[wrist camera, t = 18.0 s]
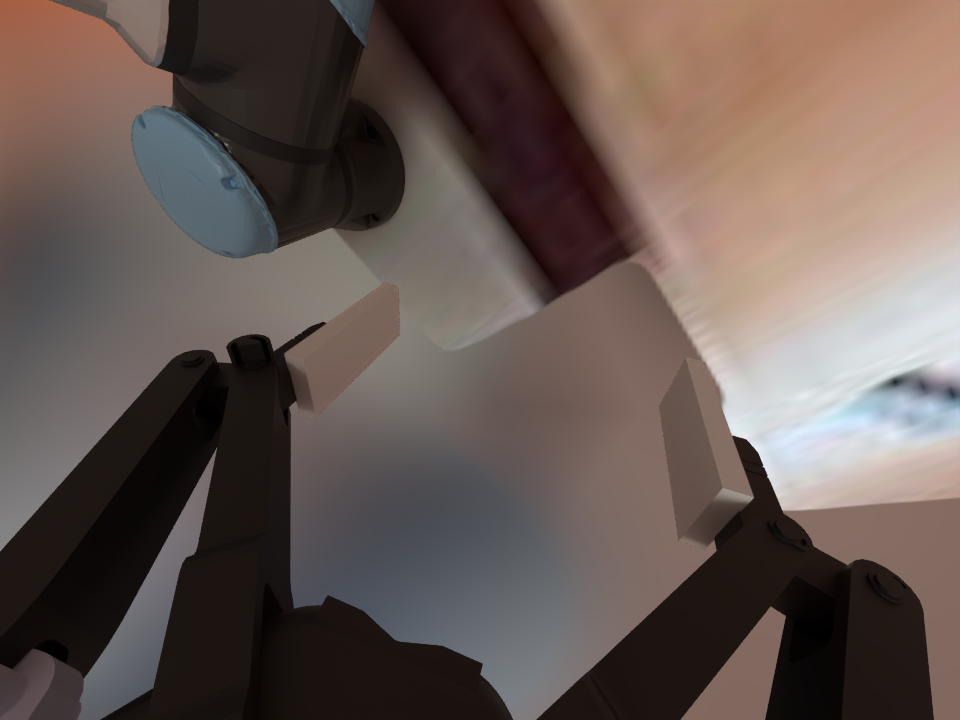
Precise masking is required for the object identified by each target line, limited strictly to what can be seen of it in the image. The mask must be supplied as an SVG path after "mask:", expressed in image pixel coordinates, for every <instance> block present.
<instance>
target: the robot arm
mask: <svg viewBox="0 0 960 720" xmlns="http://www.w3.org/2000/svg"><path fill="white" fill-rule="evenodd" d="M50 1H53V2H56V3H58V4H61V5H64V6H66V7H69V8H72V9H74V10H77V11H80V12H83V13H85V14H88V15H91V16H94V17H96V18H99V19H102V20H103V21H105V22H106V23H108V24H109V25H110V26H111V27H113V28H114V29H115V30H116V32H118V34H119V35H120V36H121V37H122V38H123V39H124V40H125V42H126V43H127V44H128V45H129V46H130V47H131V48H132V49H133V50H134V52H135V53H136V54H137V55H138V56H139V57H140V58H141V59H142V60H143V61H144V62H145V63H146V64H148V65H150V66H153V67H156V68H159V69H162V70H165V71H168V72H171V73H173V104H172V107H171V108H168V107H166V106H153V107H152V108H151V109H149V110H146V111H144V112H143V114H140V115H138V116H136V118H135V120H134V122H133V125H132V133H131V140H132V147H133V152H134V155H135V159H136V162H137V165H138V167H139V170H140V172H141V174H142V176H143V178H144V180H145V182H146V184H147V186H148V188H149V189H150V191H151V193H152V194H153V196H154V197H155V198H156V200H157V201H158V202H159V204H160V205H161V207H162V208H163V209H164V211H165V212H166V213H167V215H168V216H169V217H170V218H171V219H172V221H173V222H174V223H175V224H176V225H177V226H178V227H179V228H180V229H181V230H182V231H183V232H185V233H186V234H187V235H188V236H189V237H191V238H192V239H193V240H194V241H196V242H197V243H198V244H200V245H201V246H203V247H204V248H206V249H208V250H210V251H212V252H214V253H216V254H219V255H222V256H226V257H230V258H245V257H249V256H252V255H256V254H260V253H270V252H272V251H274V250H275V249H277V248H280V247H282V246H285V245H288V244H290V243H293V242H295V241H298V240H301V239H303V238H306V237H308V236H311V235H314V234H316V233H319V232H321V231H324V230H326V229H329V228H337V229H344V230H352V231H363V230H368V229H371V228H374V227H376V226H379V225H381V224H383V223H385V222H386V221H387V220H389V219H390V218H391V217H392V216H393V214H394V213H395V212H396V210H397V208H398V206H399V204H400V202H401V199H402V196H403V191H404V180H405V177H404V166H403V160H402V156H401V152H400V149H399V147H398V144H397V142H396V140H395V137H394V136H393V134H392V132H391V130H390V129H389V127H388V126H387V124H386V123H385V122H384V120H383V119H382V118H381V117H380V116H379V115H378V114H377V113H376V112H375V111H374V110H373V109H371V108H370V107H369V106H367V105H366V104H364V103H362V102H360V101H358V100H355V99H352V98H349V97H350V94H351V91H352V87H353V84H354V80H355V77H356V73H357V70H358V66H359V63H360V59H361V56H362V52H363V49H364V48H367V45H368V40H367V37H366V36H367V32H368V28H369V24H370V20H371V16H372V11H373V7H374V3H375V0H50ZM399 320H400V319H399V286H395V285H391V284H387V283H384V284H382V285H381V286H379V287H378V288H376V289H375V290H374V291H372V292H371V293H369V294H368V295H366V296H365V297H364V298H362V299H361V300H360V301H358V302H357V303H355V304H354V305H352V306H351V307H350V308H348V309H347V310H345V311H344V312H343V313H341V314H340V315H338V316H337V317H335V318H334V319H333V320H331V321H330V322H328V323H325V322H322V323H319V324H316V325H313V326H311V327H309V328H308V329H306V330H305V331H303V332H302V334H299V335H298V336H296V337H295V338H294V339H291V340H290V341H288V342H287V343H285V344H284V345H283V346H281V347H280V348H278V349H277V350H276V351H274V352H273V348H272V345H271V341H270V339H269V338H268V337H266V336H264V335H258V334H255V335H246V336H241V337H239V338H236V339H234V340H232V341H231V342H229V344H228V345H227V347H226V348H227V351H228V353H229V356H230V359H231V362H232V363H219V362H217V360H216V358H215V356H214V354H213V353H212V352H210V351H207V350H192V351H189V352H184V353H182V354H180V355H178V356H176V357H175V358H173V359H172V360H171V361H170V362H169V363H168V364H167V365H166V366H165V368H164V369H163V370H162V371H161V372H160V373H159V374H158V376H157V377H156V378H155V379H154V380H153V381H152V382H151V383H150V384H149V385H148V387H147V388H146V389H145V390H144V391H143V392H142V393H141V395H140V396H139V397H138V398H137V399H136V400H135V401H134V402H133V403H132V405H131V406H130V407H129V408H128V409H127V410H126V411H125V412H124V414H123V415H122V416H121V417H120V418H119V419H118V420H117V421H116V423H115V424H114V425H113V426H112V427H111V428H110V429H109V430H108V431H107V433H106V434H105V435H104V436H103V437H102V438H101V439H100V440H99V442H98V443H97V444H96V445H95V446H94V447H93V448H92V449H91V450H90V452H89V453H88V454H87V455H86V456H85V457H84V458H83V460H82V461H81V462H80V463H79V464H78V465H77V466H76V467H75V468H74V470H73V471H72V472H71V473H70V474H69V475H68V476H67V477H66V478H65V480H64V481H63V482H62V483H61V484H60V485H59V486H58V487H57V489H56V490H55V491H54V492H53V493H52V494H51V495H50V497H49V498H48V499H47V500H46V501H45V502H44V503H43V504H42V505H41V507H40V508H39V509H38V510H37V511H36V512H35V513H34V515H32V517H31V518H30V519H29V520H28V521H27V522H26V523H25V524H24V526H23V527H22V528H21V529H20V530H19V531H18V532H17V534H16V535H15V536H14V537H13V538H12V539H11V540H10V541H9V542H8V543H7V545H6V546H5V547H4V548H3V549H2V550H1V551H0V720H77V719H78V717H79V715H80V712H81V703H80V702H79V700H80V697H81V695H82V692H83V685H84V684H83V683H84V680H83V679H84V678H85V676H86V675H87V674H88V672H89V671H90V669H91V668H92V667H93V665H94V664H95V662H96V661H97V660H98V658H99V657H100V655H101V654H102V652H103V651H104V649H105V648H106V647H107V645H108V643H109V642H110V640H111V639H112V637H113V635H114V634H115V632H116V630H117V629H118V627H119V625H120V624H121V622H122V620H123V618H124V616H125V615H126V613H127V611H128V609H129V607H130V606H131V604H132V602H133V600H134V598H135V596H136V595H137V593H138V591H139V589H140V587H141V586H142V584H143V582H144V580H145V578H146V576H147V574H148V573H149V571H150V569H151V567H152V565H153V564H154V562H155V560H156V558H157V556H158V554H159V552H160V551H161V549H162V547H163V545H164V543H165V542H166V540H167V538H168V536H169V534H170V532H171V531H172V529H173V527H174V525H175V523H176V521H177V520H178V518H179V516H180V514H181V512H182V510H183V509H184V507H185V505H186V503H187V501H188V499H189V498H190V496H191V494H192V492H193V490H194V488H195V486H196V484H197V483H198V481H199V479H200V477H201V476H202V474H203V472H204V470H205V468H206V466H207V465H208V463H209V461H210V459H211V457H212V455H213V454H214V452H215V450H216V448H217V452H216V457H215V462H214V467H213V472H212V477H211V482H210V488H209V492H208V497H207V502H206V508H205V512H204V518H203V522H202V527H201V533H200V537H199V542H198V547H197V550H196V552H195V554H194V555H192V556H189V557H187V558H186V559H185V560H184V562H183V564H182V567H181V569H180V572H179V577H178V581H177V585H176V590H175V594H174V599H173V603H172V608H171V612H170V617H169V621H168V626H167V630H166V635H165V639H164V643H163V648H162V652H161V657H160V661H159V665H158V670H157V675H156V679H155V683H154V688H153V689H151V690H149V691H148V692H146V693H145V694H143V695H141V696H140V697H138V698H136V699H134V700H133V701H131V702H130V703H128V704H126V705H124V706H123V707H121V708H120V709H118V710H116V711H114V712H113V713H111V714H109V715H107V716H106V717H104V718H102V719H101V720H513V719H512V716H511V714H510V712H509V711H508V709H507V707H506V705H505V703H504V702H503V700H502V699H501V697H500V696H499V694H498V693H497V691H496V690H495V689H494V688H493V687H492V685H491V684H490V683H489V682H488V681H487V680H486V679H485V678H483V677H482V676H481V675H480V673H481V669H482V665H483V664H482V663H480V662H478V661H475V660H473V659H471V658H469V657H466V656H464V655H462V654H460V653H457V652H455V651H453V650H451V649H448V648H446V647H444V646H438V645H428V644H418V643H407V642H399V641H396V640H394V639H393V638H392V637H391V636H390V635H389V634H388V633H387V632H386V631H384V630H383V629H382V628H381V627H380V626H379V625H378V624H377V623H376V622H375V621H374V620H373V619H371V618H370V617H369V616H368V615H367V614H366V613H365V612H364V611H362V610H360V609H358V608H356V607H353V606H351V605H349V604H347V603H344V602H342V601H340V600H338V599H335V598H333V597H331V596H329V595H328V596H327V597H326V599H325V601H324V602H323V604H322V605H316V606H305V607H300V608H295V609H294V605H293V598H292V592H291V584H290V491H291V490H290V489H291V485H290V484H291V483H290V482H291V479H290V478H291V476H290V475H291V471H290V470H291V464H290V462H291V413H290V410H289V407H290V406H291V405H292V404H293V403H294V402H295V401H296V402H297V406H298V410H299V412H300V413H303V414H306V415H309V416H312V417H315V418H317V416H319V415H320V414H321V413H322V412H323V411H324V410H325V409H326V408H327V407H328V406H329V405H330V404H331V403H332V402H333V401H334V400H335V399H336V398H337V397H338V396H339V395H340V394H341V393H342V392H343V391H344V390H345V389H346V388H347V387H348V386H349V385H350V384H351V383H352V382H353V381H354V380H355V379H356V378H357V377H358V376H359V375H360V374H361V373H362V372H363V371H364V370H365V369H366V368H367V367H368V366H369V365H370V364H371V363H372V362H373V361H374V360H375V359H376V358H377V357H378V356H379V355H380V354H381V353H382V352H383V351H384V350H385V349H386V348H387V347H388V346H389V345H390V344H391V343H392V342H393V341H394V340H395V339H396V338H397V337H398V336H399V335H400V321H399ZM659 409H660V416H661V422H662V430H663V437H664V443H665V450H666V458H667V464H668V472H669V478H670V485H671V492H672V499H673V506H674V513H675V520H676V527H677V534H678V540H679V541H681V542H684V543H687V544H690V545H693V546H696V547H699V548H701V549H705V548H706V547H707V546H708V545H709V544H710V543H711V542H712V541H713V540H715V544H716V549H717V551H716V552H715V553H714V554H713V555H712V556H711V557H710V558H709V559H708V560H707V561H706V562H705V563H703V564H702V565H701V566H700V567H699V568H698V569H697V570H696V571H695V572H694V573H693V574H692V575H691V576H690V577H689V578H688V579H686V581H684V582H683V583H682V584H681V585H680V586H679V587H678V588H677V589H676V590H675V591H674V592H673V593H672V594H671V595H670V596H668V598H666V599H665V600H664V601H663V602H662V603H661V604H660V605H659V606H658V607H657V608H656V609H655V610H654V611H652V612H651V614H649V615H648V616H647V617H646V618H645V619H644V620H643V621H642V622H641V623H640V624H639V625H638V626H637V627H635V628H634V629H633V630H632V631H631V632H630V633H629V634H628V635H627V636H626V637H625V638H624V639H623V640H622V641H621V642H620V643H618V644H617V645H616V646H615V647H614V648H613V649H612V650H611V651H610V652H609V653H608V654H607V655H606V656H605V657H604V658H603V659H602V660H601V661H599V662H598V663H597V664H596V665H595V666H594V667H593V668H592V669H591V670H590V671H589V672H587V673H586V674H585V675H584V676H582V677H581V678H580V679H579V680H578V681H577V682H576V683H575V684H574V685H573V686H572V687H571V688H570V689H568V690H567V691H566V693H564V694H563V695H562V696H561V697H560V698H559V699H558V700H557V701H556V702H555V703H554V704H553V705H551V707H549V708H548V709H547V710H546V711H545V712H544V713H543V714H542V715H541V716H540V717H539V718H538V719H537V720H681V718H682V717H683V716H684V715H685V713H686V712H687V711H688V709H689V708H690V707H691V706H692V704H693V703H694V702H695V700H696V699H697V698H698V697H699V696H700V694H701V693H702V692H703V691H704V689H705V688H706V687H707V686H708V684H709V683H710V682H711V681H712V679H713V678H714V677H715V676H716V674H717V673H718V672H719V670H720V669H721V668H722V667H723V665H724V664H725V663H726V662H727V660H728V659H729V658H730V657H731V655H732V654H733V653H734V652H735V650H736V649H737V648H738V647H739V645H740V644H741V643H742V642H743V640H744V639H745V638H746V637H747V635H748V634H749V633H750V632H751V630H752V629H753V628H754V627H755V625H756V624H757V623H758V621H759V620H760V619H761V618H762V617H763V615H764V614H765V613H766V612H767V610H768V609H769V608H770V606H771V607H773V608H774V609H776V610H777V611H779V612H781V613H782V614H784V615H785V616H786V619H785V624H784V629H783V634H782V639H781V644H780V649H779V654H778V659H777V664H776V669H775V674H774V679H773V683H772V688H771V694H770V698H769V704H768V709H767V713H766V718H765V720H934V717H933V706H932V696H931V687H930V675H929V665H928V655H927V644H926V634H925V624H924V613H923V608H922V606H921V603H920V600H919V599H918V598H917V596H916V595H915V593H914V592H913V591H912V589H911V588H910V587H909V586H908V585H907V584H906V583H905V582H904V581H903V580H902V579H901V578H899V577H898V576H897V575H895V574H894V573H893V572H891V571H890V570H888V569H887V568H885V567H883V566H881V565H879V564H877V563H875V562H873V561H869V560H864V559H861V560H856V561H853V562H852V563H850V564H849V565H846V564H844V563H842V562H841V561H839V560H837V559H835V558H833V557H831V556H830V555H828V554H826V553H824V552H822V551H820V550H818V549H817V548H815V547H814V546H813V544H812V541H811V538H810V537H809V536H808V534H807V533H806V531H805V530H804V529H803V528H802V527H801V526H800V525H799V524H798V523H797V522H795V521H794V520H793V519H791V518H789V517H788V516H786V515H785V514H784V513H783V511H782V509H781V506H780V504H779V502H778V499H777V497H776V494H775V492H774V490H773V487H772V485H771V483H770V480H769V478H767V476H768V475H767V473H766V471H765V468H764V467H763V464H762V461H761V459H760V456H759V454H758V452H757V451H756V450H755V449H754V447H753V446H752V445H751V444H750V443H749V442H748V441H747V440H746V439H743V438H739V437H736V436H732V435H731V432H730V429H729V427H728V424H727V421H726V418H725V415H724V413H723V410H722V407H721V404H720V402H719V399H718V396H717V393H716V390H715V388H714V385H713V382H712V379H711V377H710V374H709V371H708V368H707V366H706V363H705V362H702V361H698V360H694V359H690V358H685V359H684V361H683V363H682V365H681V367H680V369H679V370H678V372H677V374H676V376H675V378H674V380H673V381H672V383H671V385H670V387H669V389H668V391H667V392H666V394H665V396H664V398H663V400H662V402H661V403H660V405H659ZM217 446H218V447H217Z"/></svg>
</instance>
